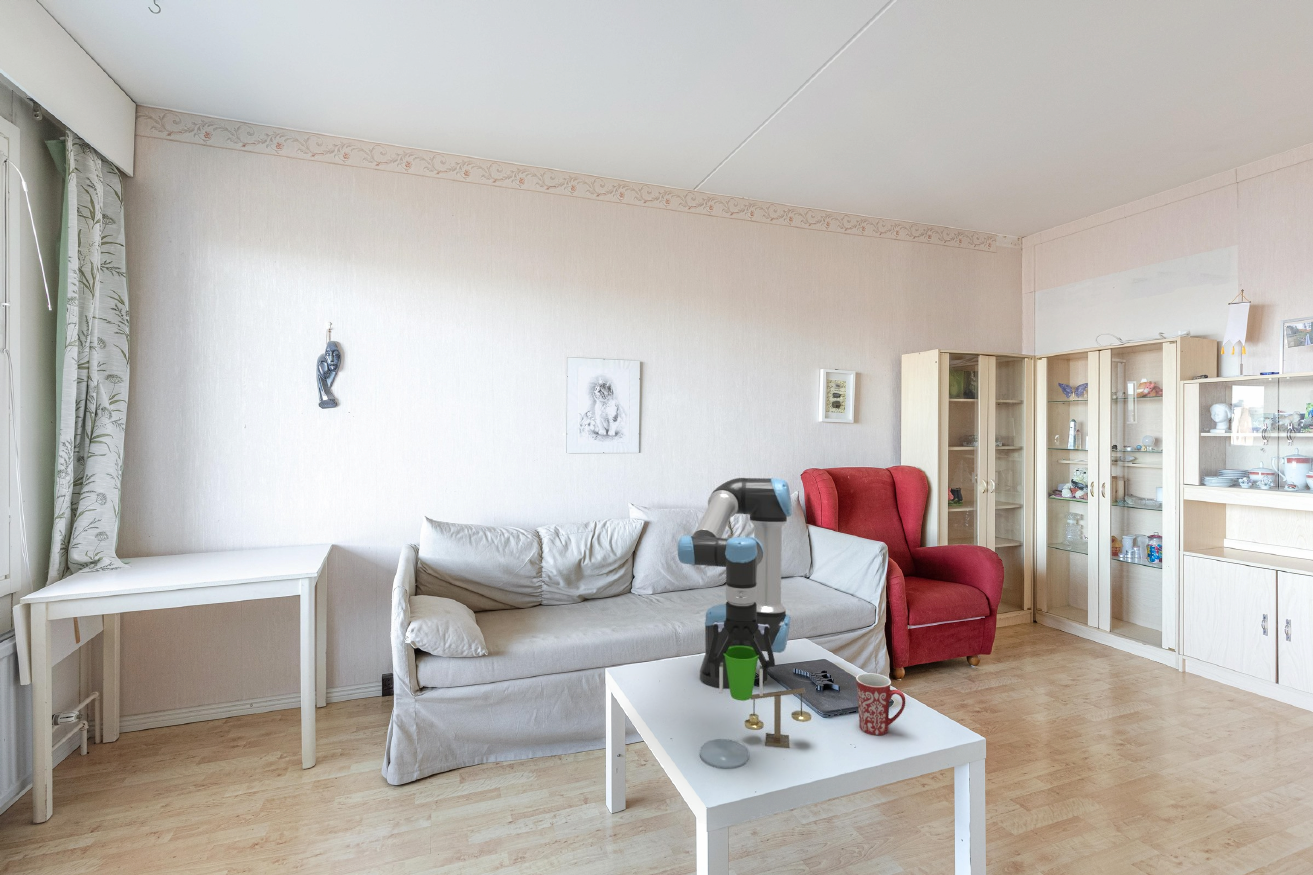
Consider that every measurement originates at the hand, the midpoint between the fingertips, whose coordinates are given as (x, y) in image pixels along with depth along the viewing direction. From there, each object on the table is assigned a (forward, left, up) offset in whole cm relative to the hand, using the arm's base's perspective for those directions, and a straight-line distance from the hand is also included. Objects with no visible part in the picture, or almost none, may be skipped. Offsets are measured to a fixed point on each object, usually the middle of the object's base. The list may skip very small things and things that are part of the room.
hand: (741, 691), depth 154 cm
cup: (0, 0, -1) cm, 1 cm away
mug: (-20, +36, -16) cm, 44 cm away
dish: (0, -4, -16) cm, 17 cm away
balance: (-9, +9, -16) cm, 20 cm away
